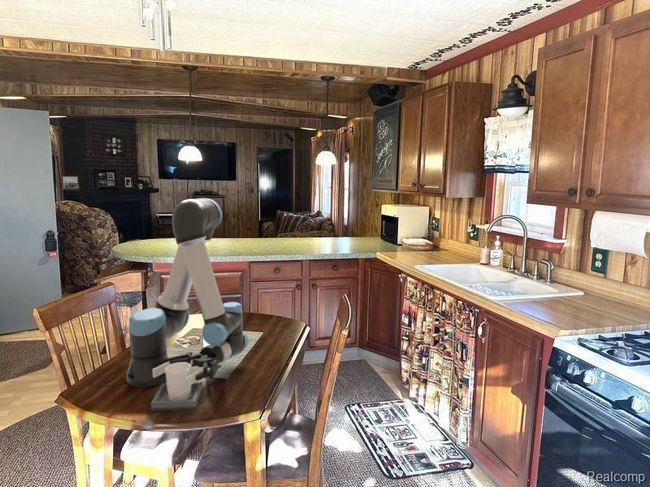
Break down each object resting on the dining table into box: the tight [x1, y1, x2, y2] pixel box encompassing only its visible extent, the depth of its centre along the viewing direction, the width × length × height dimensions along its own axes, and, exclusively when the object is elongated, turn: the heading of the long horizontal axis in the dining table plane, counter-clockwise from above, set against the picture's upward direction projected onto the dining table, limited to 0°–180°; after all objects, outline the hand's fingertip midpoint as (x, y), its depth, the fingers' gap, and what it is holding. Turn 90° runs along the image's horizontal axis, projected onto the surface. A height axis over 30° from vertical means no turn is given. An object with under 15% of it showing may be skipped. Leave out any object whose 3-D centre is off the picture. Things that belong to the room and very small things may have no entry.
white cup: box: [165, 362, 193, 401], centre depth 141 cm, size 8×8×10 cm
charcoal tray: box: [150, 381, 204, 412], centre depth 142 cm, size 13×13×2 cm
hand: (169, 377), depth 139 cm, fingers open, 13 cm apart
